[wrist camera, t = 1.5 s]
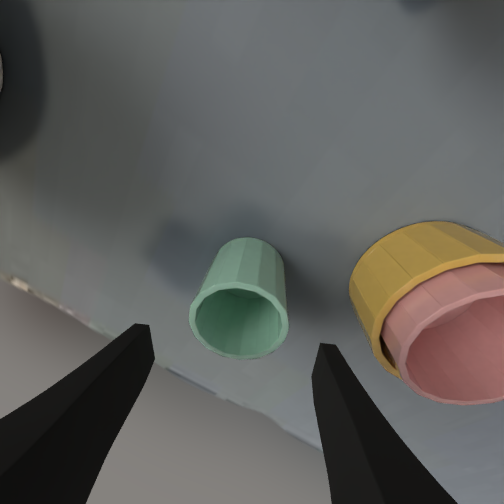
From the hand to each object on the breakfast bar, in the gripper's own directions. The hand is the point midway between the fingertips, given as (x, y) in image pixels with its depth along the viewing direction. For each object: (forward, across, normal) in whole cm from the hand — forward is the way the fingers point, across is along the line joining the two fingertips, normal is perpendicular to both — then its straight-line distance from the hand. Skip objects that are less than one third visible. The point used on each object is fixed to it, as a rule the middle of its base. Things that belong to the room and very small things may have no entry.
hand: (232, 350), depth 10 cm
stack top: (+8, -12, 0) cm, 14 cm away
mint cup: (+8, 0, 0) cm, 8 cm away
